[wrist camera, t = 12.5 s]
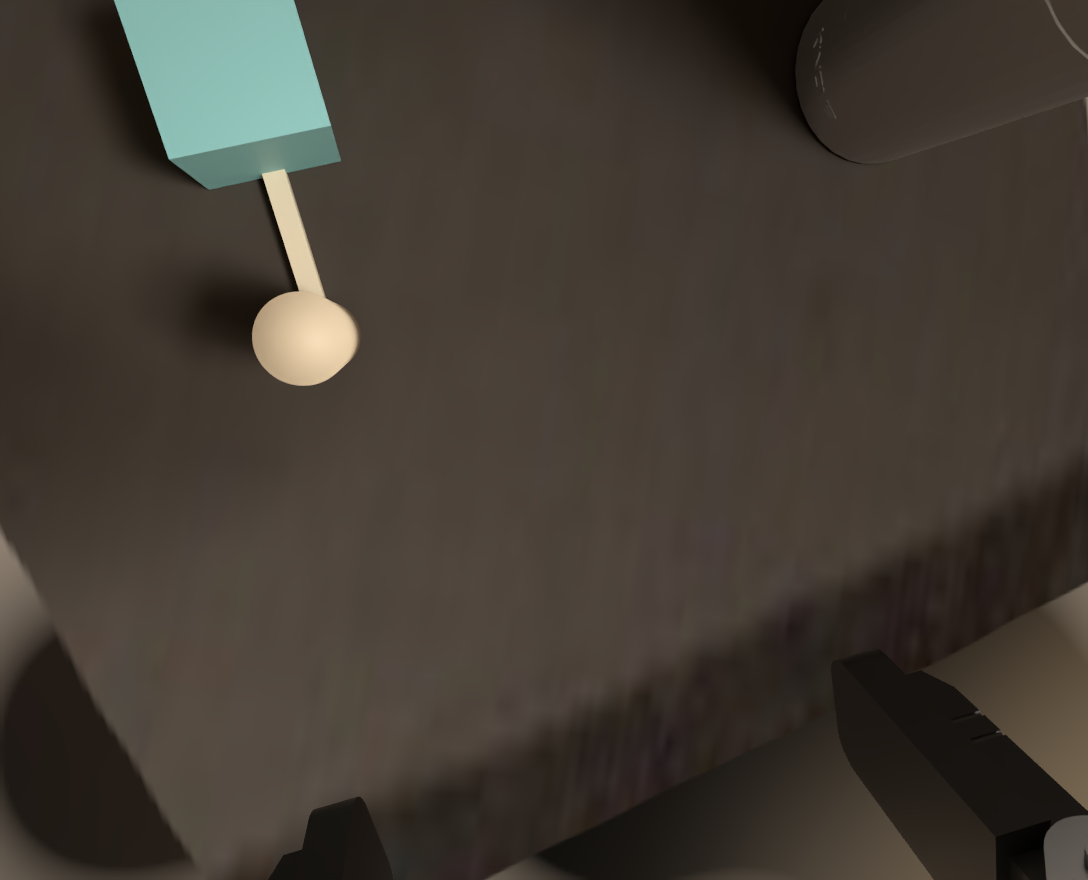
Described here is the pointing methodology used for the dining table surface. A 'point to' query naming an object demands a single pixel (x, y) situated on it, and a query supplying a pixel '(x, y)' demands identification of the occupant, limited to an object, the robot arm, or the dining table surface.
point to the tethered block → (248, 144)
